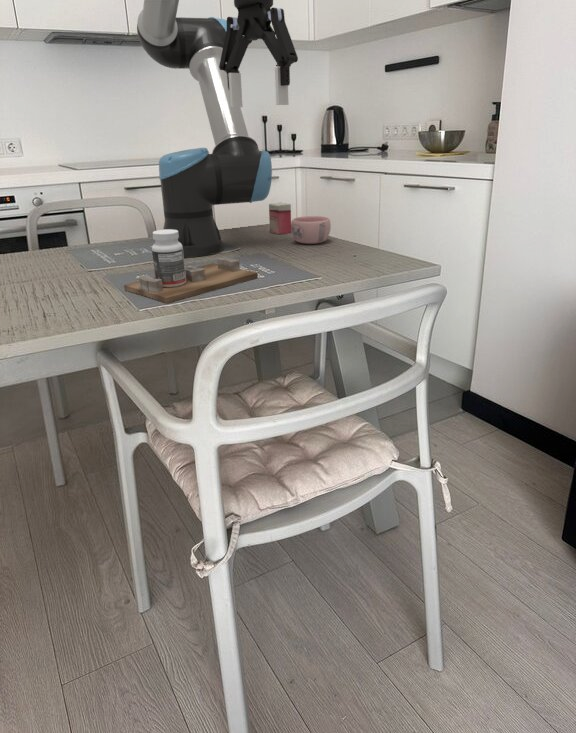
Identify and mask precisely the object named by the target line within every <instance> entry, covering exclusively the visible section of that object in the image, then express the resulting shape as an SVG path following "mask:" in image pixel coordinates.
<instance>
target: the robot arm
mask: <svg viewBox="0 0 576 733" xmlns="http://www.w3.org/2000/svg"><path fill="white" fill-rule="evenodd" d="M179 2H180V0H143V8H142V10H141V11H140V13H139V14H138V17H137V21H136V22H137V24H136V32H137V36H138V37H137V38H138V40H139V43H140V45H141V46H142V48H143V50H144V51H145V52H146V54H147V55H148V56H149V57H150V58H152V60H153V61H154V62H156V63H157V64H159V65H161V66H163V67H166V68H169V69H175V70H177V69H185V70H186V69H188V70H189V73H190V75H191V76H192V77H193V79H194V80H195V81H197V82H198V85H199V89H200V91H201V95H202V99H203V103H204V108H205V111H206V116H207V119H208V122H209V127H210V130H211V133H212V137H213V142H214V147H213V148H212V152H211V153H210V152H209V150H208V148H207V147H198V148H190V149H184V150H180V151H178V150H177V151H174V152H171V153H167V154H164V155H163V156H161V157H160V158H159V161H158V172H159V175H158V179H159V181H160V187H161V188H160V189H161V197H162V207H163V216H164V223H163V227H162V228H163V229H162V230H166V229H172V230H177V231H178V234H179V238H178V242H180V243H181V244H182V246H183V253H184V258H194V257H195V258H196V257H202V256H203V257H204V256H210V255H214V254H217V253H220V252H222V251H223V249H224V244H223V238H222V236H221V233H220V232H219V229H218V225H217V224H216V221H215V217H214V210H213V209H214V208H213V207H214V206H216V205H217V206H218V205H231V204H243V203H244V204H245V203H250V204H251V203H253V202H254V203H255V202H261V201H264V200H265V199H267V197H268V196H269V194H270V191H271V188H272V187H271V186H272V178H273V177H272V176H273V169H272V168H273V167H272V158H271V154H270V152H268V151H267V150H264V149H262V150H260V149H259V145H258V143H257V141H256V140H255V139H254V138H252V137H250V136H249V133H248V129H247V126H246V122H245V118H244V115H243V111H242V108H243V94H242V93H243V92H242V91H243V90H242V76H241V75H242V74H241V73H240V70H239V69H240V66H241V64H242V61H243V60H244V56H245V55H246V52H247V50H248V47H249V45H250V44H251V43H252V42H253V41H257V40H262V41H263V43H264V44H265V46H266V48H267V49H268V50H269V52H270V54H271V55H272V57H273V59H274V61H275V62H276V64H275V66H276V67H274V80H275V81H274V82H275V84H274V87H275V105H276V106H287V105H289V86H290V84H291V76H290V74H291V73H290V72H291V71H290V68H291V65H293V64H294V63H297V62H298V61H299V57H298V55H297V54H298V53H297V51H296V48H295V45H294V44H293V40H292V37H291V35H290V32H289V29H288V26H287V24H286V19H285V10H284V8H278V7H273V5H274V0H233V6H234V7H235V8H236V10H237V12H238V13H237V17H232V16H227V18H226V19H224V18H218V17H213V16H210V17H177V13H178V7H179Z"/></svg>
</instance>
